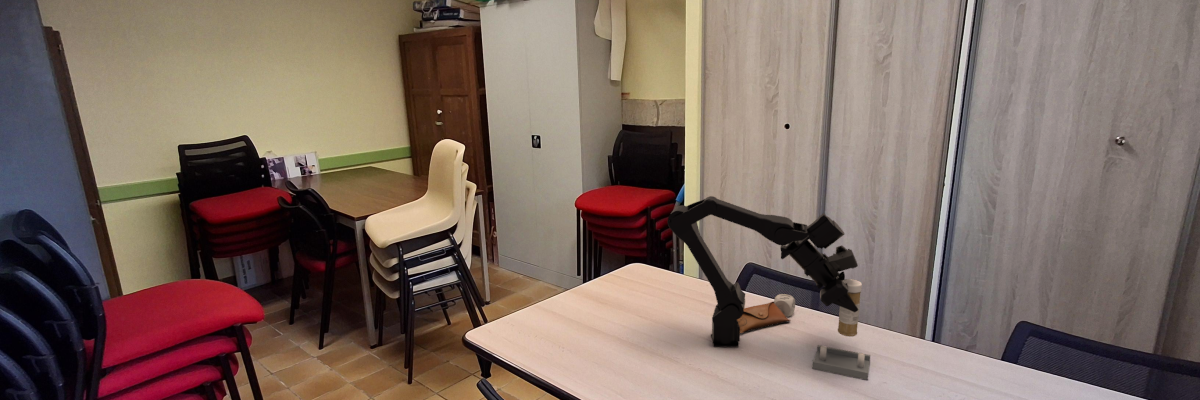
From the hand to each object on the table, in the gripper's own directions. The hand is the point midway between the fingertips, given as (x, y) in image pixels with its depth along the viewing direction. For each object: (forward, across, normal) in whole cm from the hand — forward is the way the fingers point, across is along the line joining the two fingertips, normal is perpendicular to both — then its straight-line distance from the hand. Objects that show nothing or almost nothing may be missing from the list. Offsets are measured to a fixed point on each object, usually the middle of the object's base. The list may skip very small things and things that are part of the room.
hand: (855, 307), depth 137 cm
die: (-2, +22, +21) cm, 30 cm away
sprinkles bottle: (+4, 0, +6) cm, 7 cm away
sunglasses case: (-7, +14, +26) cm, 30 cm away
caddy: (+8, -5, +11) cm, 14 cm away
